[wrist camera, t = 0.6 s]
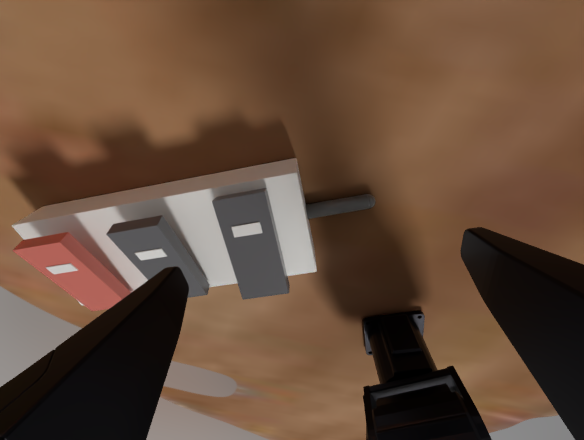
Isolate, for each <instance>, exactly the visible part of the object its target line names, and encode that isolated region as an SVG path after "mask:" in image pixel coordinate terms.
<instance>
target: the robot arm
mask: <svg viewBox="0 0 584 440" xmlns="http://www.w3.org/2000/svg"><path fill="white" fill-rule="evenodd" d="M461 257H462V260H463V262H464V264H465V266H466V267H467V269H468V271H469V273H470V275H471V277H472V279H473V281H474V283H475V285H476V287H477V289H478V291H479V293H480V295H481V297H482V298H483V300H484V302H485V304H486V305H487V307H488V308H489V310H490V312H491V313H492V315H493V316H494V318H495V319H496V321H497V322H498V324H499V325H500V327H501V328H502V330H503V331H504V333H505V334H506V336H507V337H508V339H509V340H510V342H511V343H512V345H513V346H514V348H515V349H516V351H517V352H518V354H519V355H520V357H521V358H522V360H523V361H524V363H525V364H526V366H527V367H528V369H529V370H530V372H531V373H532V375H533V377H534V378H535V380H536V381H537V383H538V384H539V386H540V387H541V389H542V390H543V392H544V393H545V395H546V396H547V398H548V399H549V401H550V402H551V404H552V405H553V407H554V408H555V410H556V411H557V413H558V414H559V416H560V417H561V419H562V420H563V422H564V423H565V425H566V426H567V428H568V429H569V431H570V432H571V434H572V435H573V437H574V438H575V440H584V265H583V264H580V263H578V262H575V261H572V260H569V259H567V258H564V257H561V256H559V255H556V254H553V253H550V252H548V251H545V250H542V249H540V248H537V247H534V246H531V245H529V244H526V243H523V242H520V241H518V240H515V239H512V238H510V237H507V236H504V235H501V234H499V233H496V232H493V231H491V230H488V229H485V228H482V227H477V228H469V229H466V230H465V232H464V235H463V240H462V246H461ZM188 293H189V285H188V282H187V280H186V278H185V276H184V274H183V272H182V270H181V269H180V267H178V266H173V267H166V268H164V269H163V270H162V271H160V272H159V273H157V274H156V275H155V276H153V277H152V278H151V279H149V280H148V281H147V282H145V283H144V284H142V285H141V286H140V287H138V288H137V289H136V290H134V291H133V292H131V293H130V294H129V295H127V296H126V297H125V298H123V299H122V300H121V301H119V302H118V303H116V304H115V305H114V306H112V307H111V308H110V309H108V310H107V311H105V312H104V313H103V314H101V315H100V316H99V317H97V318H96V319H95V320H93V321H92V322H90V323H89V324H88V325H86V326H85V327H84V328H82V329H81V330H79V331H78V332H77V333H76V334H74V335H73V336H71V337H70V338H69V339H67V340H66V341H64V342H63V343H62V344H61V345H59V346H58V347H57V348H56V349H55V350H52V351H51V352H49V353H48V354H47V355H45V356H44V357H42V358H41V359H40V360H38V361H37V362H36V363H34V364H33V365H31V366H30V367H29V368H27V369H26V370H24V371H23V372H22V373H20V374H19V375H17V376H16V377H15V378H13V379H12V380H10V381H9V382H7V383H6V384H4V385H3V386H1V387H0V440H146V438H147V435H148V432H149V429H150V425H151V422H152V419H153V416H154V413H155V410H156V407H157V404H158V400H159V397H160V394H161V391H162V388H163V385H164V382H165V379H166V376H167V373H168V369H169V366H170V363H171V360H172V357H173V354H174V351H175V348H176V345H177V341H178V338H179V335H180V331H181V327H182V322H183V317H184V312H185V307H186V303H187V298H188ZM424 317H425V316H424V314H423V312H422V311H415V312H407V313H399V314H391V315H383V316H375V317H367V318H364V319H363V328H364V338H365V349H366V353H367V355H373V358H374V362H375V366H376V370H377V374H378V377H379V381H380V384H378V385H373V386H365V387H364V395H363V400H364V406H365V415H366V440H491V437H490V435H489V433H488V431H487V429H486V426H485V424H484V422H483V420H482V418H481V416H480V414H479V412H478V410H477V408H476V406H475V405H474V403H473V401H472V399H471V397H470V396H469V394H468V392H467V390H466V388H465V387H464V385H463V383H462V381H461V379H460V377H459V376H458V374H457V372H456V370H455V368H454V367H453V366H449V367H447V368H445V369H441V370H437V368H436V366H435V363H434V361H433V359H432V357H431V355H430V352H429V350H428V348H427V346H426V343H425V341H424V339H423V329H424Z"/></svg>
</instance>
